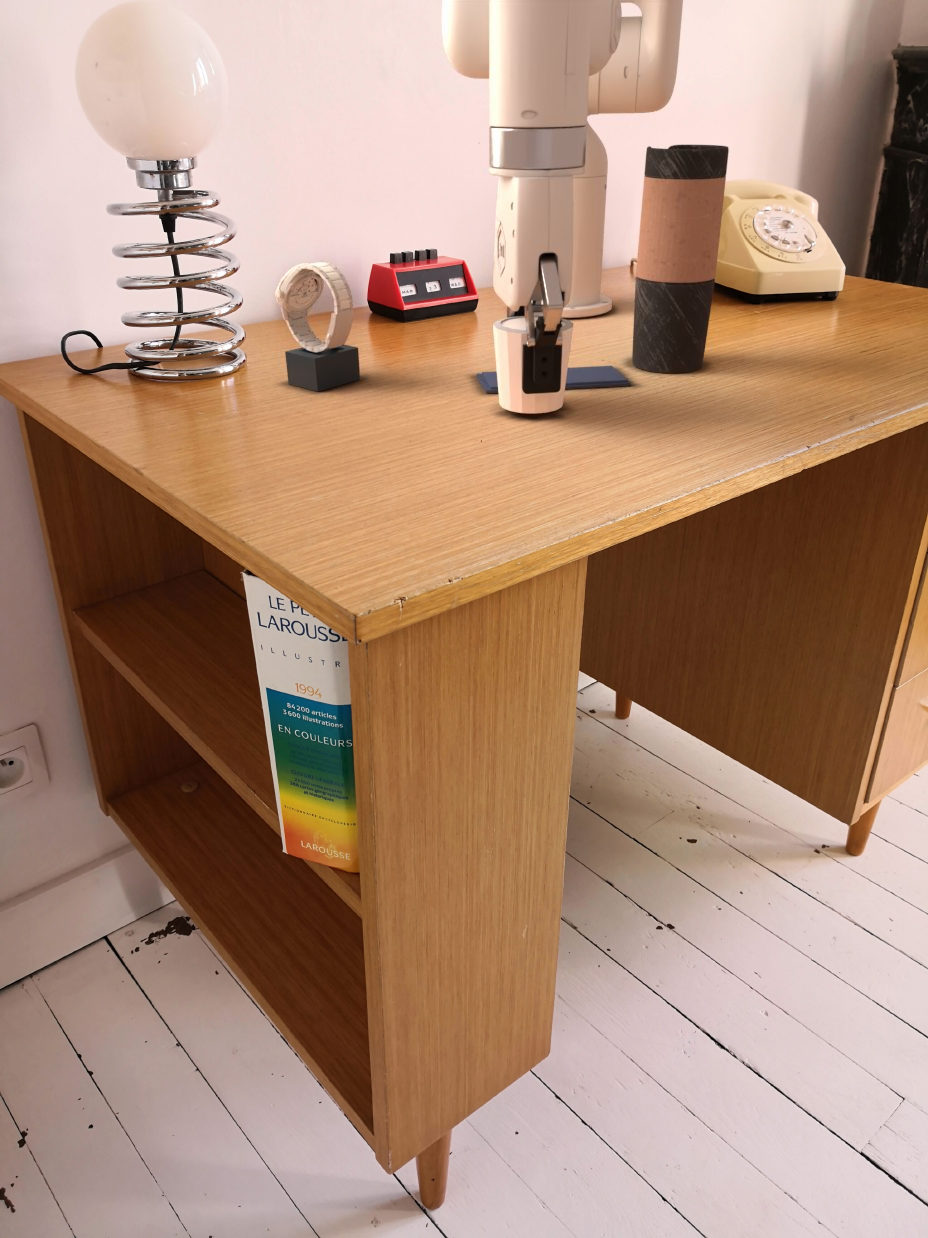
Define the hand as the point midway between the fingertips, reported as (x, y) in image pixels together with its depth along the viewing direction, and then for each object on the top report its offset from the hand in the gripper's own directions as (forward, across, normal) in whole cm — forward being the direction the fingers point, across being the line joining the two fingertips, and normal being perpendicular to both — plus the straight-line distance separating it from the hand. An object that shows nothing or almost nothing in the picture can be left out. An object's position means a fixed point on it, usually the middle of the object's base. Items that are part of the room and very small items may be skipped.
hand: (531, 378), depth 83 cm
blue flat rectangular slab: (+3, -9, +4) cm, 10 cm away
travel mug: (+3, -13, +17) cm, 21 cm away
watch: (+3, -13, -18) cm, 22 cm away
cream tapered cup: (+2, 0, 0) cm, 2 cm away
